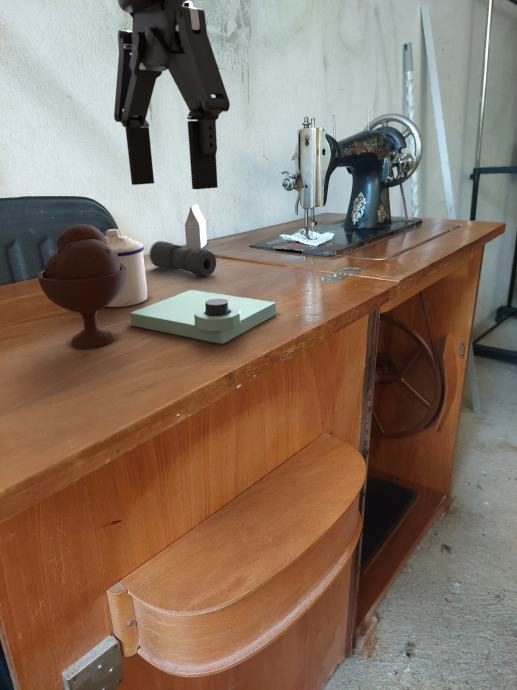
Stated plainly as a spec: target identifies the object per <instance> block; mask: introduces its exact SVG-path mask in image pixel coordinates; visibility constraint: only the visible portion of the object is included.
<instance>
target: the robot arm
mask: <svg viewBox="0 0 517 690" xmlns="http://www.w3.org/2000/svg"><path fill="white" fill-rule="evenodd" d="M117 3H118V6H119V8H120V9H121V10H122V11H123V12H125V13H128V14H129V16H130V17H131V18H132V30H125V29H119V30H118V32H117V45H118V60H117V72H116V85H115V97H114V108H113V109H114V110H113V111H114V112H113V118H114V119H113V120H114V121H115V122H116V123H120V124H121V126H122V127H123V128H125V136H126V145H127V154H128V155H127V156H128V162H129V163H128V164H129V171H130V180H131V181H130V182H131V185H132V186H137V185H139V186H140V185H150V184H155V179H154V167H153V157H152V147H151V135H150V124H149V122H148V121H147V119H146V118H147V115H148V111H149V108H150V104H151V100H152V96H153V93H154V89H155V85H156V81H157V79H158V78H159V77H161V75H162V74H163V72H166V71H167V70H168V72H169V74H170V75H171V78H172V79H173V82H174V83H175V85H176V88H177V89H178V91H179V93H180V95H181V97H182V99H183V101H184V102H185V103H184V104H185V105H186V107H187V109H188V110H189V112H188V114H187V116H186V119H187V135H188V145H189V148H188V149H189V161H190V163H189V164H190V174H191V176H190V177H191V189H192V190H205V189H207V190H208V189H216V188H218V169H217V151H218V143H217V142H218V141H217V140H218V139H217V120H218V119H219V117H220V115H221V114H222V113H224V112H225V113H226V112H229V110H230V106H231V104H230V99H229V96H228V93H227V90H226V87H225V85H224V84H225V83H224V81H223V77H222V76H221V75H222V74H221V72H220V69H219V66H218V62H217V60H216V57H215V53H214V50H213V48H212V45H211V42H210V39H209V35H208V30H207V21H206V14H205V13H206V12H205V10H204V9H203V8H197V7H193V6H194V5H193V4H194V1H193V0H118V1H117ZM213 96H215V97H213Z"/></svg>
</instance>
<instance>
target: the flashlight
mask: <svg viewBox="0 0 517 690" xmlns="http://www.w3.org/2000/svg"><path fill="white" fill-rule="evenodd" d="M148 256H149V261H150V263H151V264H152V265H153V266H154V267H157V268H160V269H166V270H169V269H170V270H175V271H178V270H183V271H185V272H187V273H188V272H189V273H190V274H193V275H194V276H197V277H202V278H203V277H209V276H211V275H212V274H213V273H214V271H216V268H217V258H216V256H215V254H214V253H212V251H210V250H208V249H205V248H201V249H187V248H186V247H183V246H182V245H179V244H175V243H173V242H170V241H165V240H164V241H163V240H158V241H155V242H154V243H153V244H152V245H151V246H150V248H149V252H148Z"/></svg>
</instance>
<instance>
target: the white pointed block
mask: <svg viewBox="0 0 517 690" xmlns="http://www.w3.org/2000/svg"><path fill="white" fill-rule="evenodd" d="M206 225H207V224H206V219H205V217H204V216H203V213H202V212H201V210H200V207H199V204H198V203H197V204H193V205H192V206H190V207H189V211H188V215H187V218H186V220H185V223H184V232H185V245H186V247H185V248H186V249H195V250H196V249H203V248H204V247H205V246H206V245H207V244H208V241H207V227H206Z"/></svg>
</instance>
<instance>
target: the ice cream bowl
mask: <svg viewBox="0 0 517 690" xmlns="http://www.w3.org/2000/svg"><path fill="white" fill-rule="evenodd" d="M105 236H106V235H105V234H104V233H103V232H102V231H101V230H100V229H99V228H97V227H95V226H94V225H90V224H86V223H78V224H74V225H70V226H68V227H66V229H64V230H63V231H62V232H61V233H60V234H59V236H58V237H57V239H56V241H55V242H56V243H55V244H56V247H57V250H56V251H54V252H52V254H51V255H50V256H49V257H48V258H47V261H46V264H45V267H44V269H43V270H40V271H38V272H37V280H38V283H39V285H40V288H41V290H42V292H43V294H45V296H46V298H48V300H49V301H51V302H53V303H54V304H55V305H57V306H58V307H60V308H62V309H64V310H66V311H70V312H75V313H79V314H80V316H81V317H82V321H83V329H82V330H81V331H79V332H78V333H76V335H74V336H73V337H72V339H71V345H72V347H74V348H79V349H95V348H100V347H104V346H107V345H109V344H111V343H112V342H114V341H115V338H114V336H113V333H112V332H111V331H110V330H107V329H104V328H102V327H99V325H98V318H97V315H98V312H99V311H100V310H103V309H104V308H107V307H106V306H108V305H109V304H110V303H111V302H113V301H114V300H115V299H116V298H117V297H118V296H119V294H120V293H121V292H122V291H123V289H124V286H125V283H126V281H127V268H126V266H125V265H124V264H122V263H120V261H119V258H118V255H117V253H116V252H115V251H114V252H113V250H112V249H111V247H109V246H108V245H107V241H106V238H105Z"/></svg>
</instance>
